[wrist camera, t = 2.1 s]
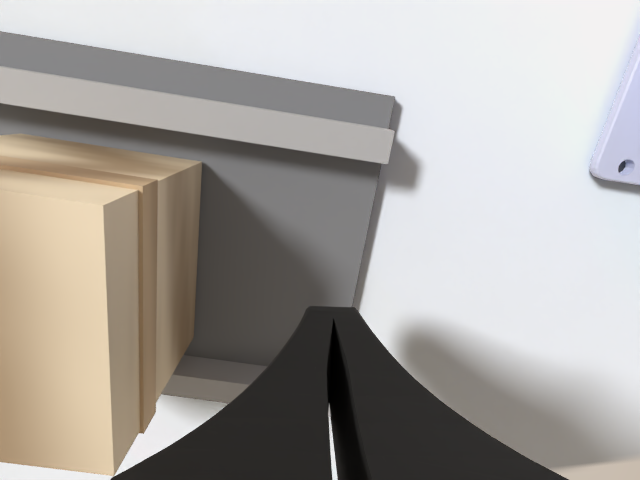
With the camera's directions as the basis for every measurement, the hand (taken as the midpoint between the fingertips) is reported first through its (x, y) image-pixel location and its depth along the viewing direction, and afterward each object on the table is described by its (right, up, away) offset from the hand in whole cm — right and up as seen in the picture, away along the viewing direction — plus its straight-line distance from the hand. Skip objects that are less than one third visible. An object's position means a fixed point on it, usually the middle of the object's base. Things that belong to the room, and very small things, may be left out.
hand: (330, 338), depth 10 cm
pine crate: (-8, +3, +3) cm, 9 cm away
